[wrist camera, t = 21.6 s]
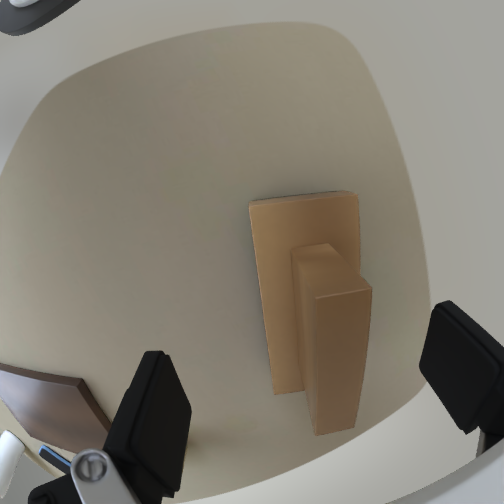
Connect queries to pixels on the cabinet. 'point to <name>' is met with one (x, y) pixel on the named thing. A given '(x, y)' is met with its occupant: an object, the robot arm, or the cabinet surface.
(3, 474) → the drinking glass
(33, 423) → the book
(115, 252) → the cabinet surface
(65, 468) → the smartphone
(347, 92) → the cabinet surface
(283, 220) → the brown block with base
